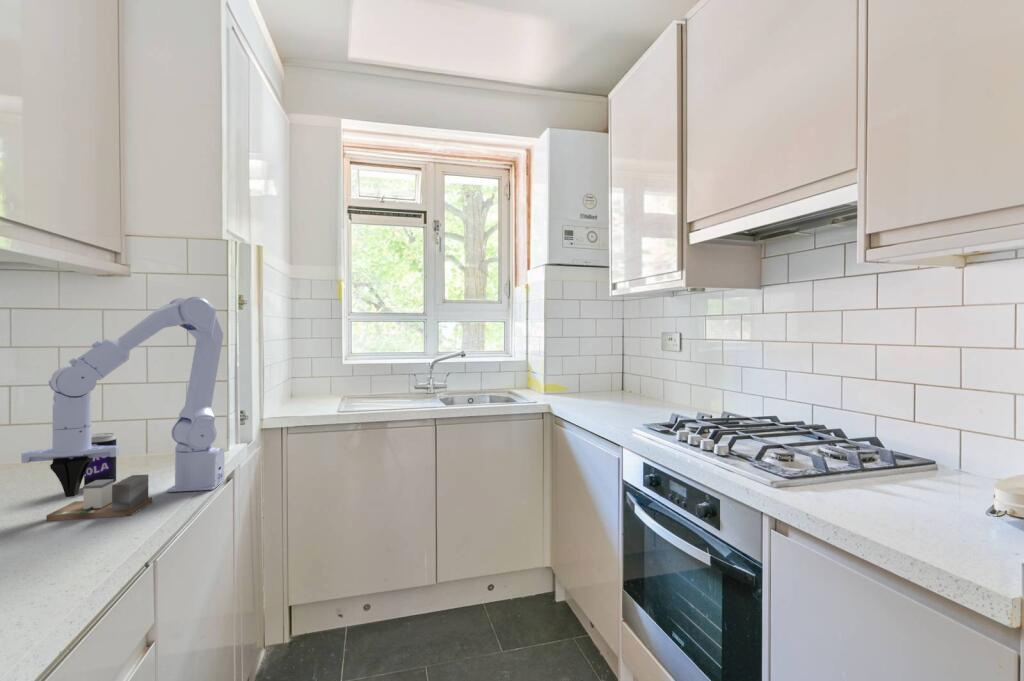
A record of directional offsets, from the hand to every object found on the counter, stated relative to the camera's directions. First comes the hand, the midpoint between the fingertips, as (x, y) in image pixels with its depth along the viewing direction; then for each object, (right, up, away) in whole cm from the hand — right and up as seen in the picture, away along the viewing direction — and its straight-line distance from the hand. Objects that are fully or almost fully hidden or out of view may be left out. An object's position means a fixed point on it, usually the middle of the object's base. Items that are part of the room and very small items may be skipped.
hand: (72, 495), depth 96 cm
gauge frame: (+6, -3, +1) cm, 7 cm away
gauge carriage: (+5, -2, 0) cm, 5 cm away
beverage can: (-9, -3, +17) cm, 19 cm away
